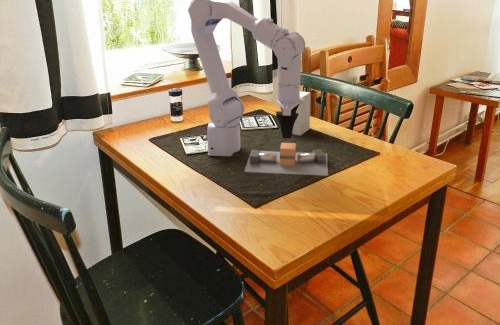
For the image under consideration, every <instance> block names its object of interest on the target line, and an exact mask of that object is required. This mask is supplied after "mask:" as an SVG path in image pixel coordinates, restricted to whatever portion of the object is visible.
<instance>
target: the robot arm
mask: <svg viewBox="0 0 500 325" xmlns="http://www.w3.org/2000/svg"><path fill="white" fill-rule="evenodd" d="M187 12H188V14H189V18H190V21H191V22H190V24H191V25H190V26H191V27H190V28H191V29H190V30H191V34H192V38H193V41H194V44H195V47H196V50H197V53H198V56H199V60H200V62H201V65H202V69H203V72H204V74H205V78H206V80H207V84H208V87H209V91H210V93H211V94H210V96H209V99H208V102H207V105H208V109H209V112H208V117H209V120H210V122H208V124H207V130H206V131H207V132H206V137H207V138H206V141H207V156H210V157H211V156H213V157H233V155H234V153H237V152H239V151H240V150H241V125H240V124H241V123H240V122H241V117H242V116H243V115H244V113H245V106H244V103H243V101H242V100H241V98H239V95H238V93H237V91H236V90H234V89H233V88H231V86H230V84H229V80H228V78H227V74H226V71H225V67H224V64H223V61H222V58H221V55H220V52H219V48H218V46H217V42H216V39H215V36H214V32H215V29H216V28H217V26H218V25H219V23H221V21H223V19H227V20H229V21H230V22H233V23H234V24H237V25H239V26H240V27H243V28H245V29H247V31H250V32H251V35H252V37H253V40H255V41H258V43H261V44H262V45H263V46H266V47H267V48H269V49H270V50H272V51H273V53H274V56H276V58H277V97H276V103H277V104H278V105H279V107H280V110H279V111H278V110H277V111H276V113H275V116H276V118H277V120H278V122H279V123H278V124H279V126H280V133H281V136H282V138H283V139H291V138H292V135H293V134H292V132H293V127H294V123H295V121H296V119H297V117H298V114H299V113H296V111H297V108H298V106H299V105H300V103H304V99H301V98H300V91H301V71H302V70H301V67H302V65H301V64H302V62H301V61H302V60H301V59H302V54H303V53H304V51H305V48H306V41H305V38H304V37H303V36H302V35H301V34H300V33H299V32H296V31H294V32H289V29H288V28H283V27H281V26H279V25H278V24H276V23H275V22H274V19H273V18H272V17H271V18H270V17H269V18H266V17H263V18H261V19H258V17H255V16H254V15H253V14H251V13H250V12H248V11H246V10H245V9H244V8H242V7H241V6H240V5H238V4H236V3H235V1H234V2H233V0H191V2H190V4H189V7H188V9H187ZM281 110H282V111H281Z"/></svg>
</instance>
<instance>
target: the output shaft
mask: <svg viewBox="0 0 500 325" xmlns="http://www.w3.org/2000/svg"><path fill="white" fill-rule="evenodd" d="M306 153H307V154H298V155H297V161H298V163H305V162H314V161H315V162H316V163H317V164H324V163H326V155H325V154H326V153H325V152H324V151H323V150H322V149H321V148H317V149H312V152H306Z"/></svg>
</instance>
